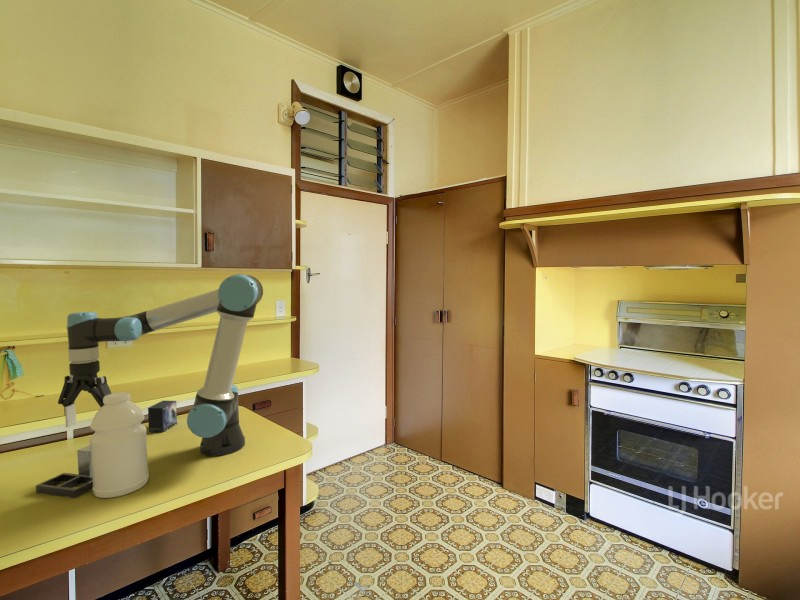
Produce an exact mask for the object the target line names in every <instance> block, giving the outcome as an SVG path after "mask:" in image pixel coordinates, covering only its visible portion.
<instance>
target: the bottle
mask: <svg viewBox="0 0 800 600" xmlns="http://www.w3.org/2000/svg"><path fill="white" fill-rule="evenodd" d="M103 403H104V405H103V406H102V407H100V408H99V409H98V410H97V412H96V413H95V415H94V417H93V418H92V421H91V424H90V425H89V426H90V427H89V429H90V430H92V431H93V432H94V433H93V434H92V435H91V436H90V438H89V445H90V450H91V465H92V480H93V488H92V489H91V491H92V493H93V495H94V497H96V498H99V499H107V498H108V499H110V498H112V499H113V498H116V497H122V496H125V495H128V494H131V493H133V492H135V491H137V490H139V489H141V488H143V487H144V486H145V485H146V484H147V483H148V481H149V476H150V474H149V465H148V447H147V427H146V426H144V424H142V422H143V421H144V420H145V414H144V413H143V411H142V410H141V408H140V406H138V405H137V404H136V403H134V402H133V401H131V393H130V392H127V391H126V392H125V391H123V392H121V391H120V392H115V393H112V394H109V395H106V396H104V397H103Z"/></svg>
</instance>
